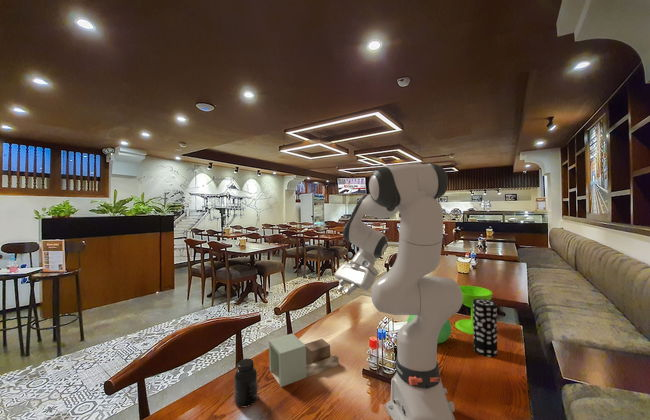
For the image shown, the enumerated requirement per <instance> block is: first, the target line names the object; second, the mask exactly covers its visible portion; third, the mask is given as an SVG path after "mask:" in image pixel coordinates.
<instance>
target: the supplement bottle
mask: <svg viewBox="0 0 650 420" xmlns="http://www.w3.org/2000/svg"><path fill="white" fill-rule="evenodd" d="M236 368H237V369H236V372H235V373H234V380H233V381H234V403H235V404H236V406H238V405H239V406H238V407H240V406H247V407H249V406H248V405H250V406H251V404H252V403H253V404H254V403H255V402H256V401H257V400H258V371H257V368H255V367H254V360H253V359H252V358H243V359H240V360H239V361H238V363H237V367H236ZM253 404H252V405H253Z"/></svg>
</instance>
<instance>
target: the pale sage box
mask: <svg viewBox="0 0 650 420" xmlns="http://www.w3.org/2000/svg"><path fill="white" fill-rule="evenodd" d="M305 344H306V343H304V342H303V341H302V340H300V339H299V338H298V337H297V336H296V335H295V334H294V333H289V334H285V335H282V336H279V337H275V338H271V339H269V340H268V353H269V354H268V355H269V356H268V358H269V359H268V361H269V372H270V373H271V372H274V371H277V370H279V383H278V385H279V387H280V388H282V386H283V387H285V386H287V385H290V383H291V384H294V383H296V382H298V381H301V380H303V378H304V379H306V378H308V377H307V375H306V345H305ZM295 381H296V382H295Z"/></svg>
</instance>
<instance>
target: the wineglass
mask: <svg viewBox="0 0 650 420" xmlns="http://www.w3.org/2000/svg"><path fill="white" fill-rule="evenodd" d="M459 287H460V289H461V291H462V295H463V302H462V305H464V306H466V307H468V308H470V318H469V319H468V318H465V319H459V320H458V321H456V322H455V324H454V327H455V328H456V329H458V330H459V331H460V332H462V333H465V334H468V335H471V336H473V300H474V299H487V300H491V299H492V296H493V292H492V290H490V289H488V288H486V287H481V286H477V285H476V286H474V285H459ZM491 301H492V300H491Z"/></svg>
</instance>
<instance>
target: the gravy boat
mask: <svg viewBox="0 0 650 420" xmlns="http://www.w3.org/2000/svg"><path fill="white" fill-rule="evenodd" d="M415 316H416V315H408V318H407V322H406V324H407V323H409V322H411V321H412V320H413V319H414V318H415ZM451 335H452V323H451V322H450V320H449V319H448V320H447V321H446V322H445V324H444V325H443V327H442V328H441V330H440V333H439V336H438V341H437V345H438V344H442V343H445V342H446V341H447V340H448V339H449V338H450V336H451Z"/></svg>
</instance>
